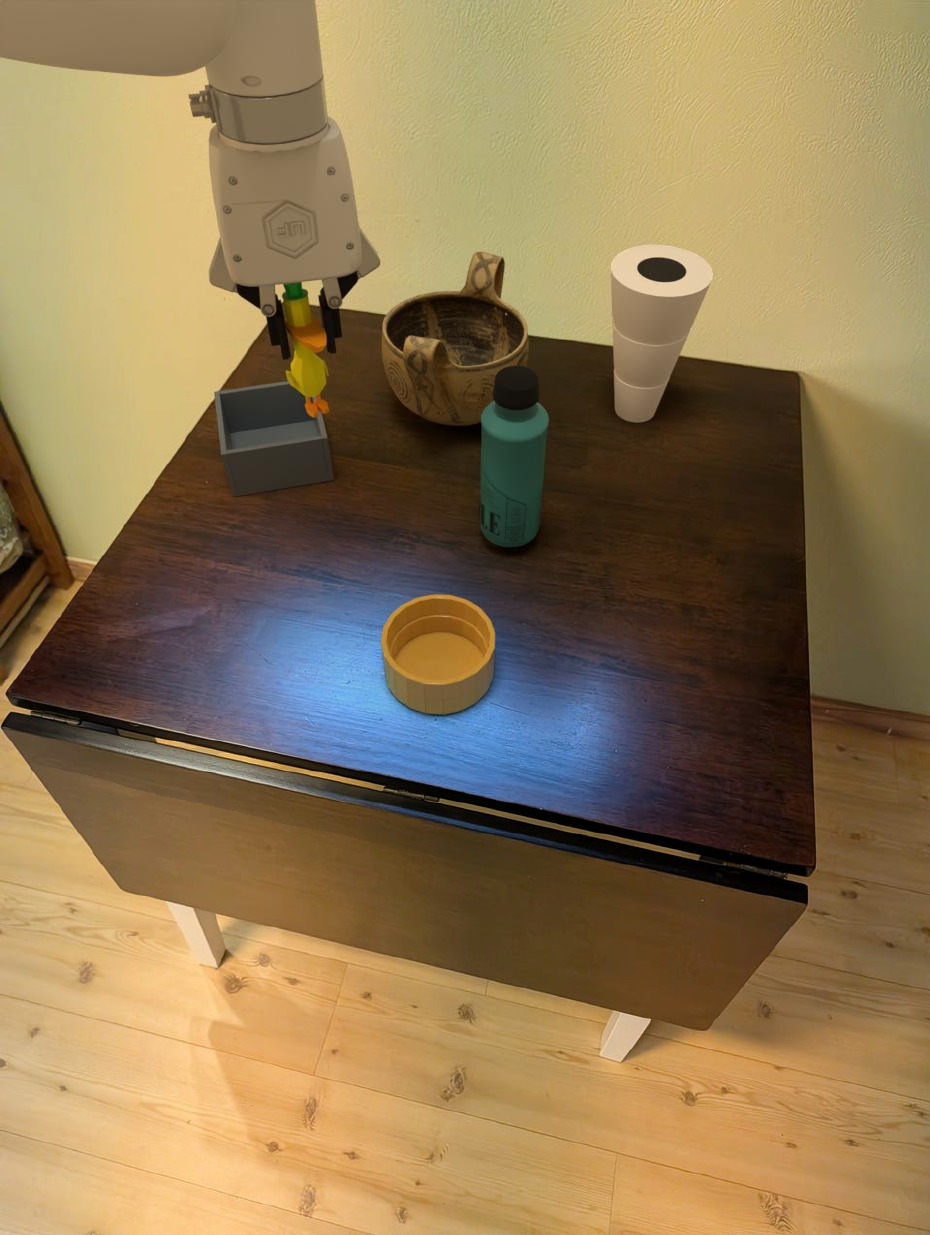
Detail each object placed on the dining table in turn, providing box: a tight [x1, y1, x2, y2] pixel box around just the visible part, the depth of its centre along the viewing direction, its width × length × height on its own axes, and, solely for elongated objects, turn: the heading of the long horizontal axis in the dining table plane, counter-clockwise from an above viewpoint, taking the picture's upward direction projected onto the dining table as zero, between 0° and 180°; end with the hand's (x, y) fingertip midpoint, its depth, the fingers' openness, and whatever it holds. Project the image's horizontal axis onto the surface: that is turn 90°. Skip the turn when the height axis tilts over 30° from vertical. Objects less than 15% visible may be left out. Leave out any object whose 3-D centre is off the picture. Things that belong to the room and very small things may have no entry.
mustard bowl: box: [380, 593, 496, 715], centre depth 76 cm, size 10×10×5 cm
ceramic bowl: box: [381, 251, 530, 427], centre depth 97 cm, size 22×17×15 cm
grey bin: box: [213, 380, 335, 498], centre depth 95 cm, size 11×11×6 cm
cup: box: [610, 244, 714, 423], centre depth 96 cm, size 11×11×18 cm
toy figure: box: [281, 282, 330, 418], centre depth 71 cm, size 7×4×12 cm, turn 32°
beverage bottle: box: [478, 366, 550, 548], centre depth 81 cm, size 6×7×20 cm
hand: (307, 345), depth 71 cm, fingers closed on toy figure, 3 cm apart
